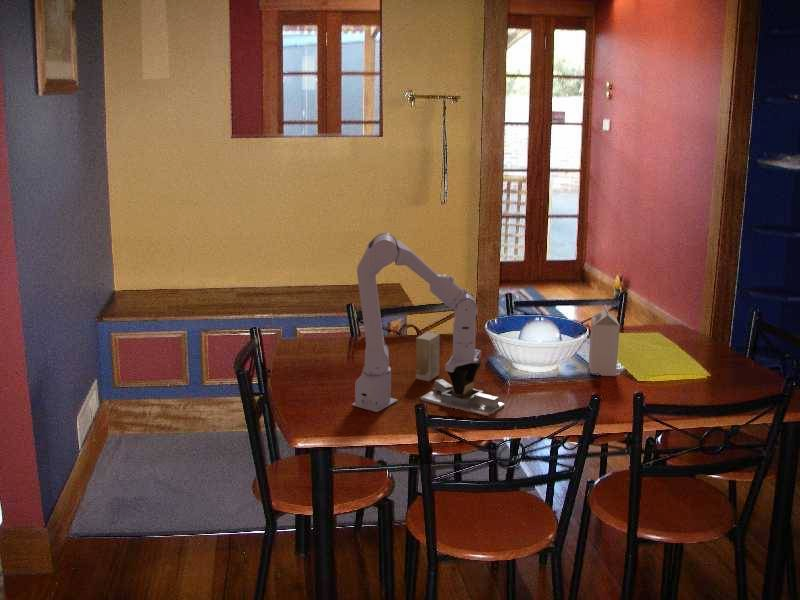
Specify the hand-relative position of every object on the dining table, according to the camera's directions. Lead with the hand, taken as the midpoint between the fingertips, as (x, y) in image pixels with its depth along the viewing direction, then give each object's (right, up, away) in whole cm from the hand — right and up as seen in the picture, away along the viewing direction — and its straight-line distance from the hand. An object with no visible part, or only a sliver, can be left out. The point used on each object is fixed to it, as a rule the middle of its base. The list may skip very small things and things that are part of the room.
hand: (462, 390), depth 243 cm
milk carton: (+41, +3, +25) cm, 48 cm away
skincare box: (-9, +2, +20) cm, 22 cm away
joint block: (0, -3, +1) cm, 3 cm away
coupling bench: (0, -3, +1) cm, 4 cm away
